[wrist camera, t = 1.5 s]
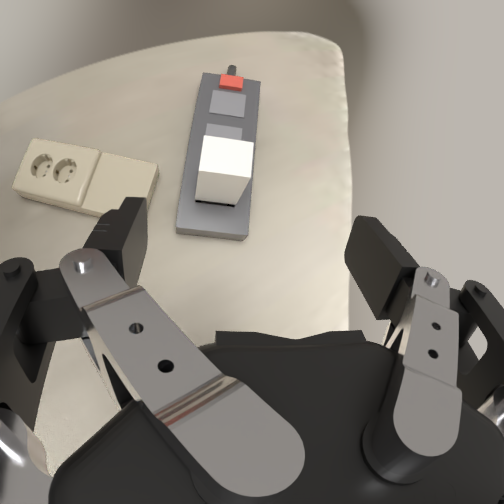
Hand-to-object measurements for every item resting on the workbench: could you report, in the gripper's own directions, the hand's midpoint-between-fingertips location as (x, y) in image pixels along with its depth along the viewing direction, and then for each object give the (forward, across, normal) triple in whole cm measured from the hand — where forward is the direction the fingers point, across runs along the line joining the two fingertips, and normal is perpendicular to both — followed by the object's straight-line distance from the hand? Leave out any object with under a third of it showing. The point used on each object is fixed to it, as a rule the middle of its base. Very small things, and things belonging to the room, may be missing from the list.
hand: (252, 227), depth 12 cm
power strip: (+31, 0, +4) cm, 32 cm away
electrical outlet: (+26, +17, +10) cm, 33 cm away
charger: (+26, 0, +10) cm, 28 cm away
